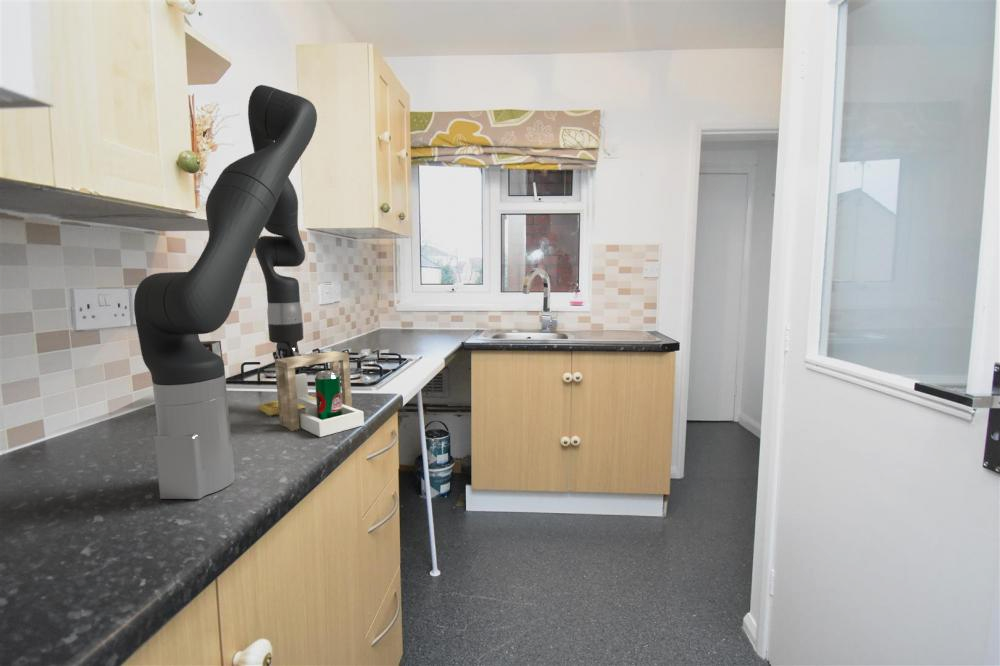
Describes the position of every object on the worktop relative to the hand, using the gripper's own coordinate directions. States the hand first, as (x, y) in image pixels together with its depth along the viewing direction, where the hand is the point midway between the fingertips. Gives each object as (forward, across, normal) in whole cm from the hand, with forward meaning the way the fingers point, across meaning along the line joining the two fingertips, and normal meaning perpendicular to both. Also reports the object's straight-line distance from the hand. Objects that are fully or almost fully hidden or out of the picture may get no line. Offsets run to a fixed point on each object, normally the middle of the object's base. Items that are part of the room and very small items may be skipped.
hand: (290, 391), depth 113 cm
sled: (+4, -14, 0) cm, 15 cm away
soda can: (+4, -20, 0) cm, 20 cm away
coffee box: (+5, +25, +12) cm, 28 cm away
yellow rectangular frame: (+5, +2, 0) cm, 5 cm away
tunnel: (+4, -13, 0) cm, 14 cm away
